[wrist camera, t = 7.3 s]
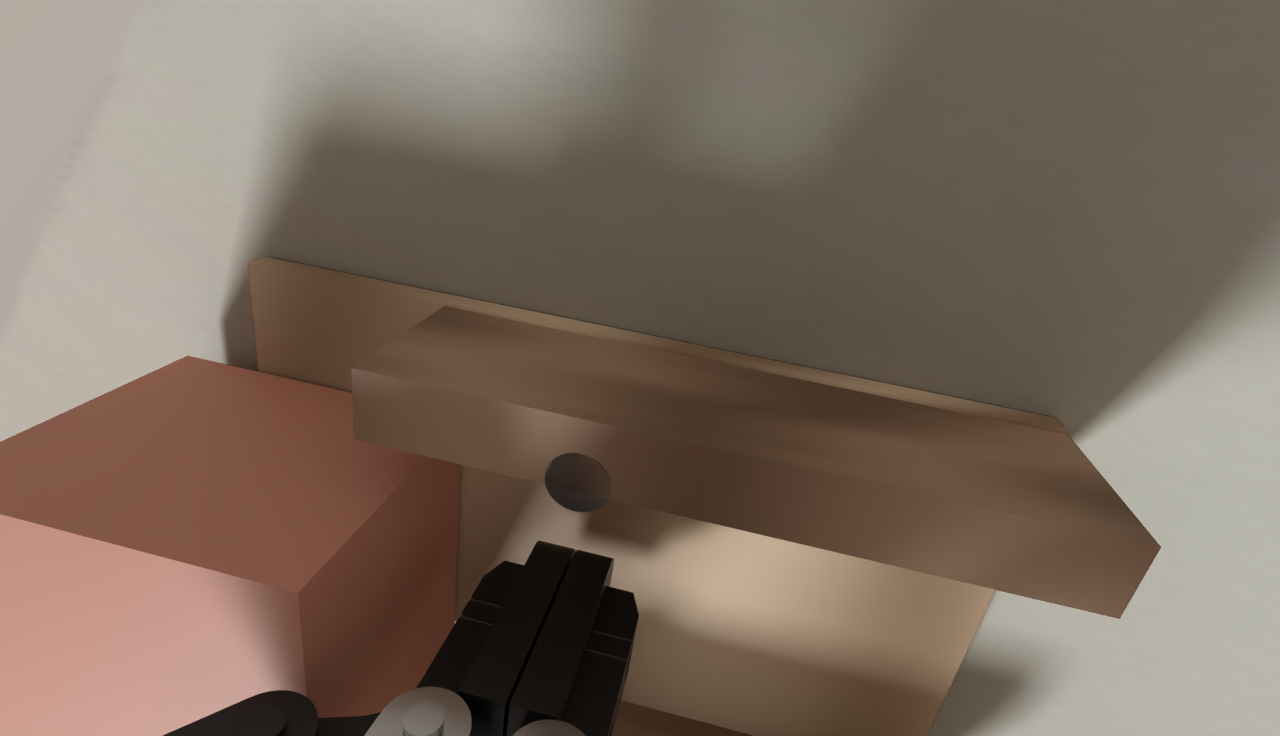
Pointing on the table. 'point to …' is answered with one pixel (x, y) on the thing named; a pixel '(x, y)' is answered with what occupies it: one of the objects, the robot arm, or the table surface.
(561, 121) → the table surface
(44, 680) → the block
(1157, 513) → the table surface
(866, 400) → the tan wooden frame
